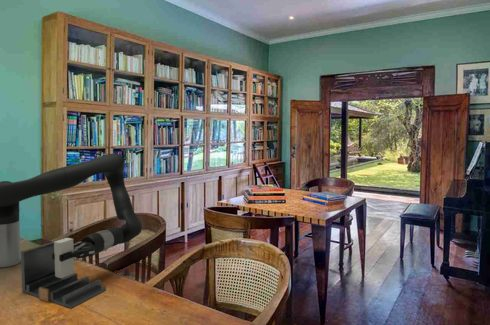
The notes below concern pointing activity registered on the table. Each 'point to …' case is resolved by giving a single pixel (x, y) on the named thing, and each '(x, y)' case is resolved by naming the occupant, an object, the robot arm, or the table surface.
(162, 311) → the table surface
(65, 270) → the light grey block
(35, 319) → the table surface
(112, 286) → the table surface
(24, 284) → the rack
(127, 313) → the table surface
